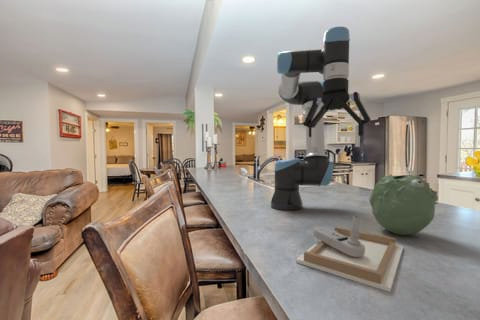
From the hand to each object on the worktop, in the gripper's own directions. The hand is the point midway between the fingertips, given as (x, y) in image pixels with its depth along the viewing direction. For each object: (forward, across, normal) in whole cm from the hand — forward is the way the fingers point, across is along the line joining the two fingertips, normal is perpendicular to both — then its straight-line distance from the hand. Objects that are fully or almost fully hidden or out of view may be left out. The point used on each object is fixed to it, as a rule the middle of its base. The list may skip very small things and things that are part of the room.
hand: (334, 147), depth 77 cm
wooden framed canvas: (+29, +9, -12) cm, 32 cm away
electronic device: (+27, +5, -12) cm, 30 cm away
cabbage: (+29, +17, +15) cm, 37 cm away
